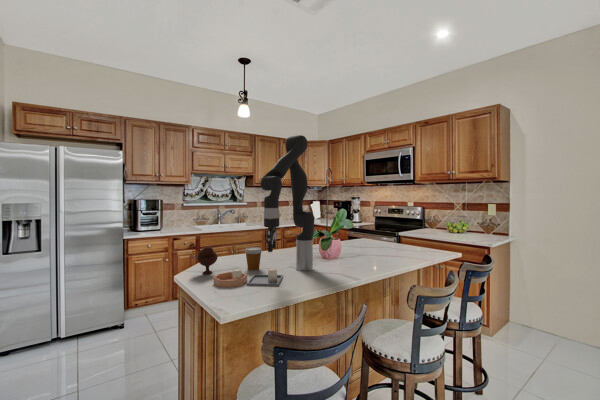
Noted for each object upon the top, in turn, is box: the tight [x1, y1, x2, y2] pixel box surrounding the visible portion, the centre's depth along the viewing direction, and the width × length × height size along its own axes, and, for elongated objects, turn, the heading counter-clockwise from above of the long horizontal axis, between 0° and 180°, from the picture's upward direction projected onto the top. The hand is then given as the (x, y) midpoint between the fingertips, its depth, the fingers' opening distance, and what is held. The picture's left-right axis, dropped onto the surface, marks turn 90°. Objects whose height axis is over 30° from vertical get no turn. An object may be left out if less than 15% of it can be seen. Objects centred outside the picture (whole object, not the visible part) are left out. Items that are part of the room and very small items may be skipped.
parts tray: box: [245, 273, 284, 287], centre depth 146 cm, size 15×15×2 cm
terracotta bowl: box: [213, 271, 248, 288], centre depth 144 cm, size 15×15×4 cm
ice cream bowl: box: [196, 245, 219, 276], centre depth 161 cm, size 11×11×15 cm
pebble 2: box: [267, 268, 278, 283], centre depth 145 cm, size 4×4×6 cm
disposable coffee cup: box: [244, 246, 263, 271], centre depth 169 cm, size 10×10×12 cm
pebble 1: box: [231, 269, 243, 280], centre depth 144 cm, size 4×4×6 cm
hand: (271, 250), depth 145 cm, fingers open, 8 cm apart
